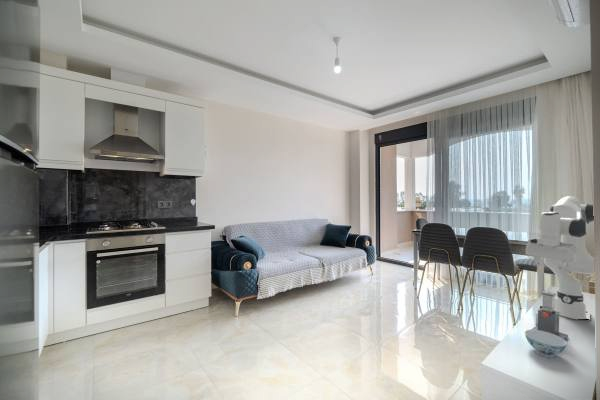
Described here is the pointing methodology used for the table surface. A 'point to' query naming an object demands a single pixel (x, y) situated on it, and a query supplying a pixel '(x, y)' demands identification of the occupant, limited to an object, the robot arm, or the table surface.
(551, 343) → the chinaware
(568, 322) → the table surface
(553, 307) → the column
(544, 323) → the stand base
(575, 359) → the table surface
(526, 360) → the table surface
